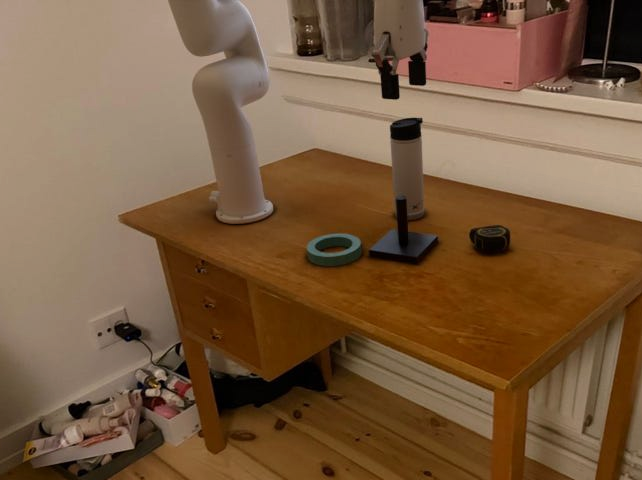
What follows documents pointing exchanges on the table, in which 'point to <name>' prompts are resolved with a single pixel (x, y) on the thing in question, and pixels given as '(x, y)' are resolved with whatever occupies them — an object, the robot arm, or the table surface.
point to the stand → (403, 240)
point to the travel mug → (408, 164)
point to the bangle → (334, 258)
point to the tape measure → (490, 238)
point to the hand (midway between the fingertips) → (404, 91)
